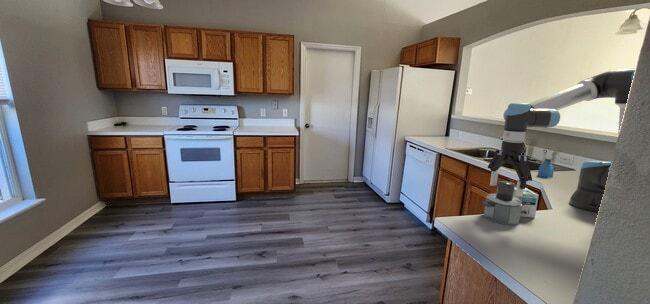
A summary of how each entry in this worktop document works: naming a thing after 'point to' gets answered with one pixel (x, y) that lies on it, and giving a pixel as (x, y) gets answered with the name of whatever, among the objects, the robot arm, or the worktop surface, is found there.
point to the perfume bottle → (546, 169)
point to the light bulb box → (528, 203)
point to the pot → (502, 213)
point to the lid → (504, 195)
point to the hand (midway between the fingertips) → (505, 190)
